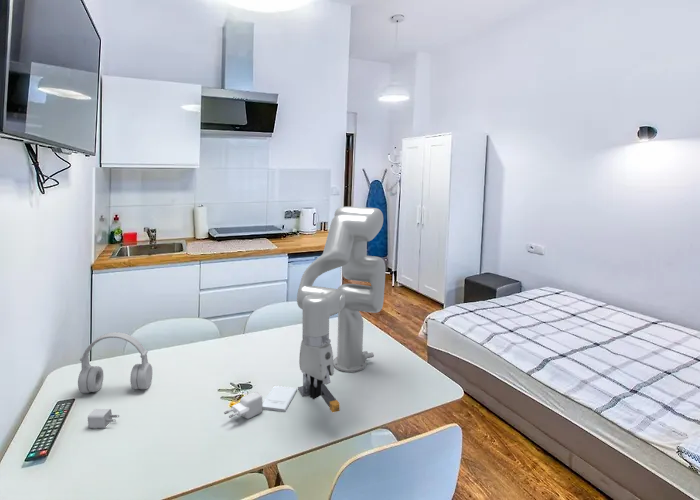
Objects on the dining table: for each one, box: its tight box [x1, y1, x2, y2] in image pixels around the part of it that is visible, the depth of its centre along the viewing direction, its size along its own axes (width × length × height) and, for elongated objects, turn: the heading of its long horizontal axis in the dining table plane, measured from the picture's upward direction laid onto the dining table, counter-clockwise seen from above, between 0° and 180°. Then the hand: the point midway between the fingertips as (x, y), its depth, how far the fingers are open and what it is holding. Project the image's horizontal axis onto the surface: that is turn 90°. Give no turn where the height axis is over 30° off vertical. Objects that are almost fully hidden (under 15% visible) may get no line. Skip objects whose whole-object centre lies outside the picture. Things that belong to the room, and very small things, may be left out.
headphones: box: [77, 331, 153, 394], centre depth 131 cm, size 20×8×19 cm, turn 100°
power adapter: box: [223, 391, 264, 420], centre depth 119 cm, size 11×5×6 cm, turn 137°
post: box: [297, 373, 310, 398], centre depth 134 cm, size 5×5×9 cm
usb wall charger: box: [87, 408, 120, 429], centre depth 114 cm, size 4×7×4 cm, turn 93°
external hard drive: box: [262, 385, 298, 413], centre depth 130 cm, size 2×8×12 cm
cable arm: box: [321, 384, 341, 413], centre depth 123 cm, size 26×4×4 cm, turn 25°
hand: (315, 396), depth 119 cm, fingers closed
